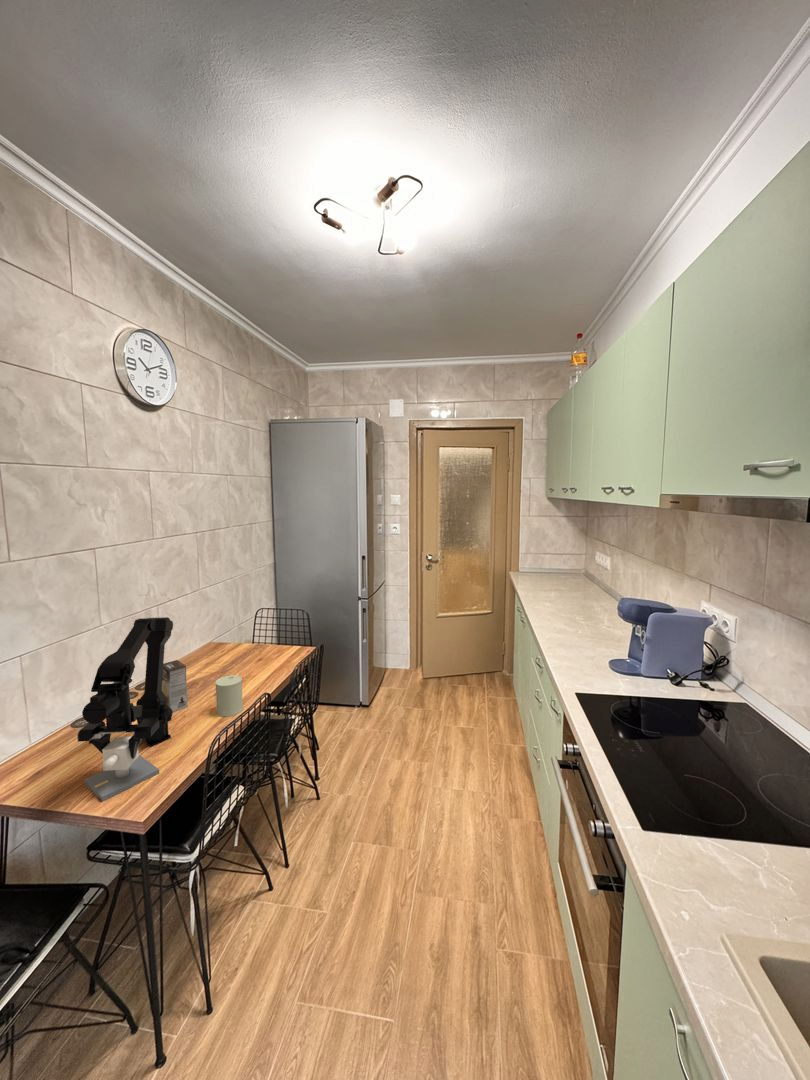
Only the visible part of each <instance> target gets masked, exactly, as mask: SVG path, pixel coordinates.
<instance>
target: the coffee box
mask: <svg viewBox="0 0 810 1080" xmlns="http://www.w3.org/2000/svg"><path fill="white" fill-rule="evenodd" d="M187 679H188V678H187V666H186V665H185V664H184V663H182V662H181V661H180V660H178V659H176V660H173V661H167V662H165V663H164V662H163V677H162V692H163V693H164V695H165V696H166V698H167V705H168V706H169V707H170V708H171V709H172V713H173V712H177V711H180V710H182V708H183V709H185V707H186V708H188V681H187Z"/></svg>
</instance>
